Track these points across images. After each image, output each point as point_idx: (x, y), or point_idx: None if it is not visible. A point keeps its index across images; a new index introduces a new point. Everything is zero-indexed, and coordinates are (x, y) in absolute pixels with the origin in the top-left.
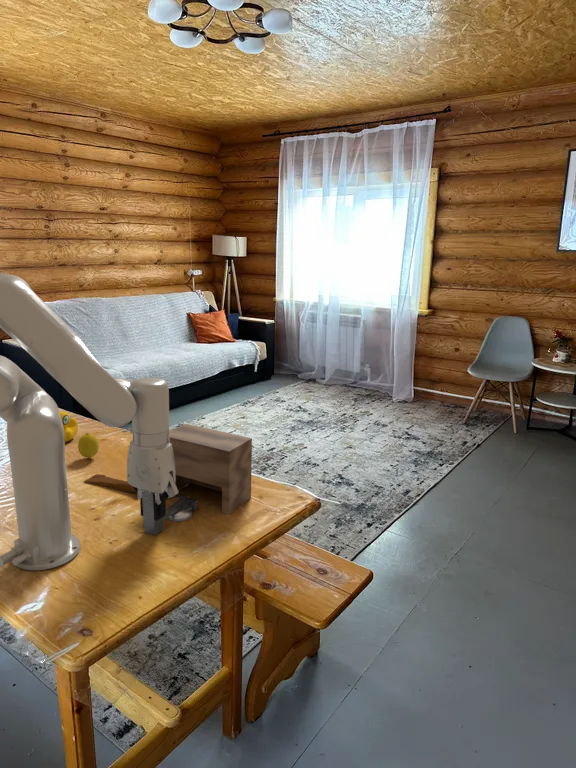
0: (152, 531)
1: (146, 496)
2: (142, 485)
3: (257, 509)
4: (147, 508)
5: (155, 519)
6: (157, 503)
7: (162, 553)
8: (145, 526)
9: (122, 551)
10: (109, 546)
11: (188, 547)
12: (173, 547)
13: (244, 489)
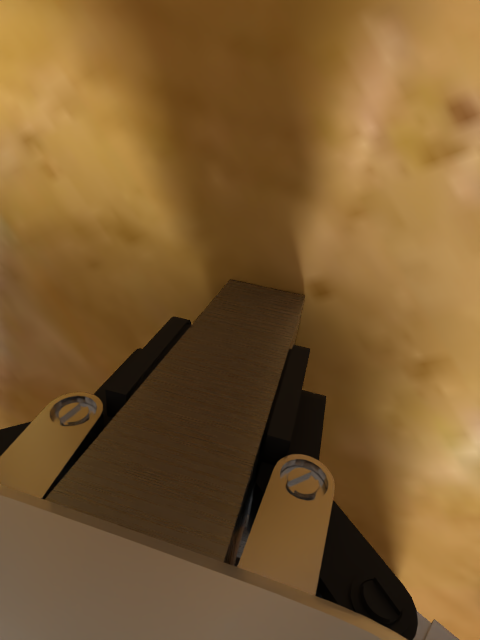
0: (238, 291)
1: (186, 462)
2: (68, 606)
3: None
4: (224, 376)
5: (174, 318)
6: (91, 402)
7: (93, 137)
8: (287, 310)
9: (318, 43)
10: (449, 59)
11: (32, 237)
12: (85, 213)
13: None
